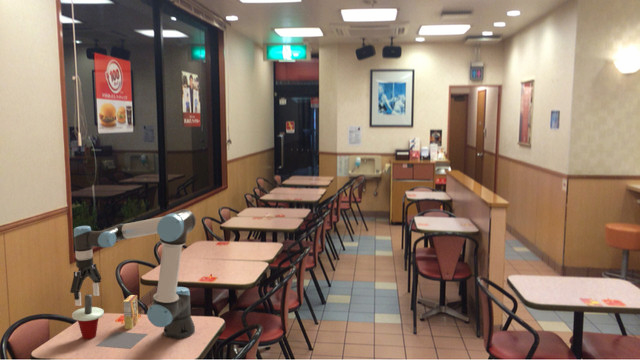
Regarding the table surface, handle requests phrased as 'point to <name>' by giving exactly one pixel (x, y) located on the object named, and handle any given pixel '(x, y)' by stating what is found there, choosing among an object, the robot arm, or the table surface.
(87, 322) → the plastic cup
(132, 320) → the candy box
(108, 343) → the mat
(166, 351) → the table surface
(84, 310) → the lid
